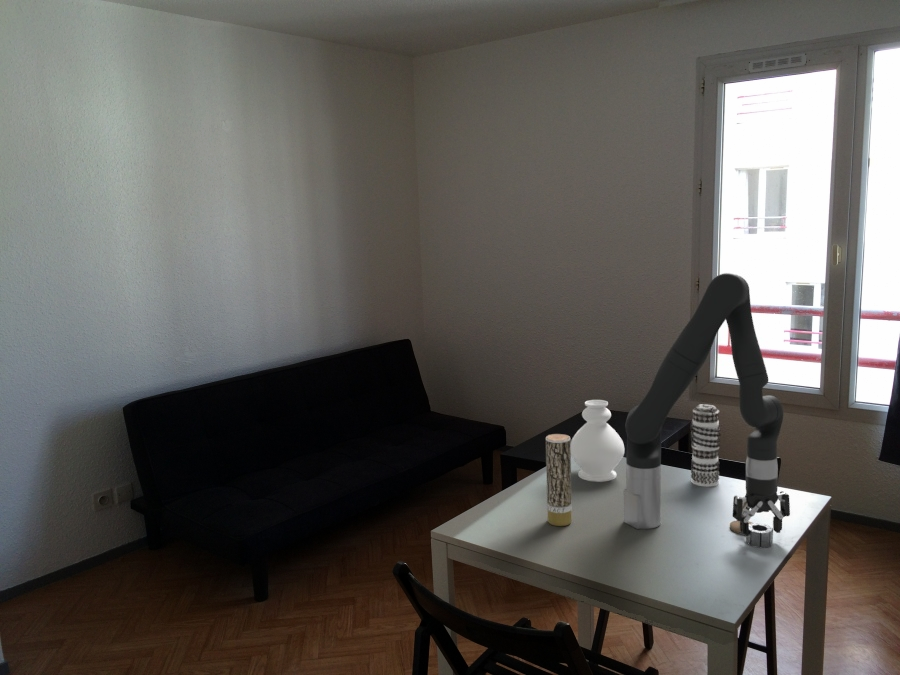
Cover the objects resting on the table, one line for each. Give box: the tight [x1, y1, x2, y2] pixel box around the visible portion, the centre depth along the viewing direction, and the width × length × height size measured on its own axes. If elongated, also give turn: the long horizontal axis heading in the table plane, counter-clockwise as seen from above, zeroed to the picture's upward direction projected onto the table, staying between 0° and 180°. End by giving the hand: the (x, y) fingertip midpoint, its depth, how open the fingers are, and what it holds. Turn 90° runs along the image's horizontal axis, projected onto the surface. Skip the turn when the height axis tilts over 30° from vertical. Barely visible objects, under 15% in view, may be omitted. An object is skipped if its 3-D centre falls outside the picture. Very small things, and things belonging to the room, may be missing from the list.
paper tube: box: [545, 433, 573, 527], centre depth 205 cm, size 7×7×25 cm
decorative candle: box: [689, 403, 722, 488], centre depth 231 cm, size 9×9×25 cm
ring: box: [745, 522, 774, 549], centre depth 189 cm, size 6×6×4 cm
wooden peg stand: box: [729, 502, 753, 535], centre depth 197 cm, size 7×7×8 cm
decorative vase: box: [570, 399, 625, 483], centre depth 242 cm, size 18×18×25 cm
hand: (760, 533), depth 189 cm, fingers open, 8 cm apart
